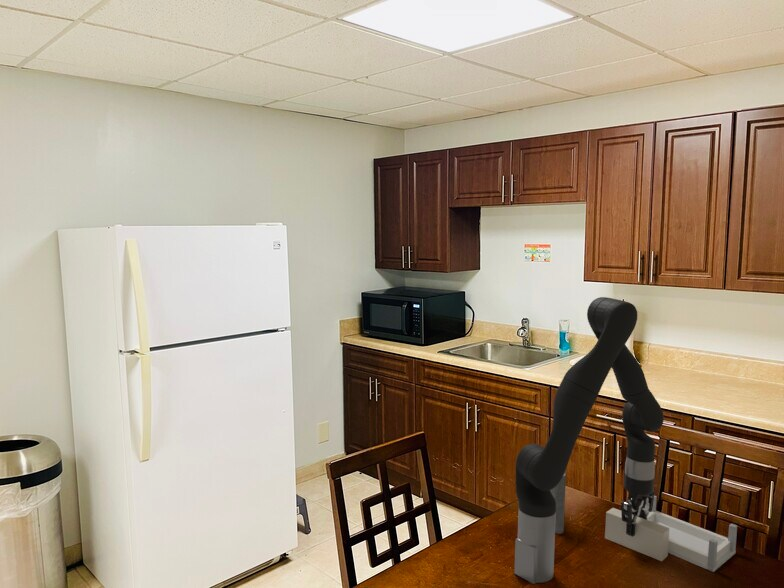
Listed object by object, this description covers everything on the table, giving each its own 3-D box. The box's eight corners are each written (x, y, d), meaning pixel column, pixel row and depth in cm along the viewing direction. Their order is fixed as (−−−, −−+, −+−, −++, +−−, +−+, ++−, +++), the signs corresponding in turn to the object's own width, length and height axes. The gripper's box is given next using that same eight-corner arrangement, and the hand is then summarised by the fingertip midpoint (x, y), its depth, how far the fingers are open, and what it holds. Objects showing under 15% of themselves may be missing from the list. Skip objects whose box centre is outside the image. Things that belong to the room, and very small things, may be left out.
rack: (713, 572, 153) (715, 543, 152) (626, 534, 171) (627, 508, 170) (735, 553, 162) (737, 525, 161) (650, 519, 180) (651, 494, 179)
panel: (661, 561, 158) (663, 533, 157) (604, 538, 169) (606, 512, 168) (667, 556, 161) (669, 528, 160) (611, 533, 172) (612, 507, 171)
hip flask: (565, 533, 172) (567, 467, 169) (551, 533, 172) (553, 467, 169) (549, 507, 187) (551, 447, 185) (536, 507, 187) (538, 447, 185)
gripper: (639, 485, 155) (635, 545, 157) (665, 471, 164) (662, 528, 166) (612, 475, 161) (610, 534, 163) (639, 462, 170) (636, 518, 172)
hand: (636, 531), depth 164 cm, fingers open, 5 cm apart
